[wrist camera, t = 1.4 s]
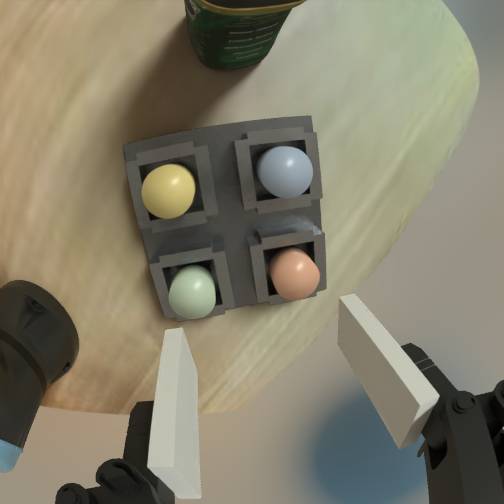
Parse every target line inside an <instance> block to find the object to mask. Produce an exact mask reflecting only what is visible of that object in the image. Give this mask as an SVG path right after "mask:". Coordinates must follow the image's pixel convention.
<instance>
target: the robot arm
mask: <svg viewBox="0 0 504 504" xmlns="http://www.w3.org/2000/svg"><path fill="white" fill-rule="evenodd" d="M338 346H339V347H340V349H341V351H342V352H343V354H344V355H345V357H346V359H347V361H348V362H349V364H350V365H351V367H352V369H353V371H354V372H355V374H356V376H357V377H358V379H359V381H360V382H361V384H362V386H363V387H364V389H365V391H366V392H367V394H368V396H369V398H370V399H371V401H372V403H373V405H374V406H375V408H376V410H377V412H378V413H379V415H380V417H381V418H382V420H383V422H384V423H385V425H386V427H387V429H388V431H389V432H390V434H391V436H392V438H393V439H394V441H395V443H396V445H397V446H398V448H399V449H401V448H403V447H405V446H408V445H410V444H412V443H413V442H415V441H417V440H418V438H419V436H420V434H421V433H422V435H423V436H424V438H425V441H424V443H423V444H422V446H421V447H420V449H419V451H418V455H417V457H420V456H421V454H422V453H423V452H424V456H425V464H426V471H427V481H428V490H429V504H504V430H503V429H502V427H503V426H504V380H502V381H500V382H499V383H498V384H497V385H496V387H495V389H494V391H492V392H488V393H485V394H481V395H476V396H474V395H473V394H472V393H470V392H466V391H458V390H457V389H456V388H455V387H454V386H453V385H452V384H451V382H450V381H449V380H448V379H447V378H446V376H445V375H444V374H443V373H442V372H441V371H440V370H439V369H438V367H437V366H435V365H434V363H433V362H432V360H431V359H429V357H428V356H427V355H426V354H425V352H424V351H423V350H422V349H421V348H419V347H417V346H415V345H413V344H412V343H409V344H406V345H403V346H401V347H400V346H399V345H398V343H397V342H396V341H395V340H394V339H393V337H392V336H391V335H390V334H389V333H388V332H387V330H386V329H385V328H384V327H383V326H382V325H381V323H380V322H379V321H378V320H377V319H376V318H375V316H374V315H373V314H372V313H371V312H370V311H369V309H368V308H367V307H366V306H365V305H364V304H363V303H362V302H361V300H360V299H359V298H357V296H356V295H355V294H350V295H346V296H341V297H339V320H338ZM78 351H79V339H78V334H77V331H76V328H75V326H74V324H73V322H72V320H71V318H70V316H69V315H68V313H67V312H66V310H65V309H64V308H63V306H62V305H61V304H60V303H59V302H58V301H57V300H56V299H55V298H54V297H53V296H52V295H51V294H50V293H48V292H47V291H46V290H44V289H43V288H41V287H39V286H38V285H36V284H33V283H31V282H28V281H23V280H15V281H11V282H8V283H7V284H5V285H4V286H3V287H2V288H1V289H0V472H9V471H11V470H12V469H13V468H14V467H15V464H16V462H17V459H18V457H19V455H20V453H22V452H23V447H24V444H25V442H26V439H27V436H28V433H29V431H30V428H31V426H32V423H33V420H34V418H35V415H36V413H37V410H38V408H39V406H40V403H41V401H42V399H43V396H44V394H45V392H46V390H47V388H49V387H50V386H51V385H52V384H53V383H54V382H56V381H57V380H58V379H59V378H60V377H62V376H63V375H64V374H65V373H66V372H68V371H69V369H70V368H71V367H72V365H73V363H74V361H75V359H76V357H77V354H78ZM96 482H97V483H98V484H100V485H101V486H99V487H94V488H89V489H85V488H83V487H82V486H81V485H79V484H75V483H68V484H65V485H64V486H62V487H61V488H60V489H59V490H58V492H57V495H56V501H55V504H175V496H174V494H175V495H176V496H177V497H178V498H179V499H197V498H201V482H200V463H199V437H198V372H197V369H196V366H195V363H194V361H193V358H192V355H191V352H190V349H189V346H188V343H187V340H186V337H185V334H184V331H183V328H175V329H168V330H165V335H164V341H163V347H162V353H161V359H160V365H159V372H158V378H157V385H156V392H155V400H154V401H142V402H137V403H136V405H135V406H134V408H133V409H132V411H131V413H130V419H129V426H128V430H127V436H126V441H125V448H124V454H123V459H120V458H118V459H110V460H108V461H106V462H104V463H103V464H102V465H101V466H100V467H99V468H98V470H97V472H96Z"/></svg>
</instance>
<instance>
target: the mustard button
mask: <svg viewBox="0 0 504 504" xmlns="http://www.w3.org/2000/svg"><path fill="white" fill-rule="evenodd" d="M195 190H196V183H195V179H194V177H193V175H192V173H191V172H190V171H189V170H188V169H187V168H186V167H184V166H182V165H180V164H175V163H170V164H165V165H163V166H161V167H158V168H156V169H155V170H153V171H152V172H150V173H149V174H148V176H147V177H146V178H145V180H144V182H143V185H142V200H143V202H144V205H145V206H146V208H147V209H148V210H149V211H150V212H151V213H152V214H153V215H155V216H157V217H160V218H165V219H171V218H175V217H178V216H180V215H182V214H183V213H185V212H186V211H187V210H188V208H189V207H190V205H191V203H192V201H193V198H194V194H195Z"/></svg>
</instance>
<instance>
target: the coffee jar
mask: <svg viewBox="0 0 504 504" xmlns="http://www.w3.org/2000/svg"><path fill="white" fill-rule="evenodd" d="M305 1H306V0H184V2H185V11H186V18H187V24H188V29H189V34H190V37H191V41H192V44H193V47H194V49H195V51H196V53H197V56H198V58H199V59H200V61H201V62H202V63H203V64H204V65H206V66H207V67H209V68H211V69H215V70H231V69H236V68H242V67H246V66H250V65H253V64H255V63H258V62H260V61H261V60H263V59H264V58H265V57H266V56H267V54H268V53H269V51H270V49H271V48H272V46H273V44H274V42H275V40H276V38H277V35H278V33H279V31H280V29H281V27H282V25H283V23H284V22H285V20H286V18H287V16H288V15H289V13H290V11H291V10H292V8H293V7H296V6H298V5H300V4H302V3H303V2H305Z"/></svg>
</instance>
